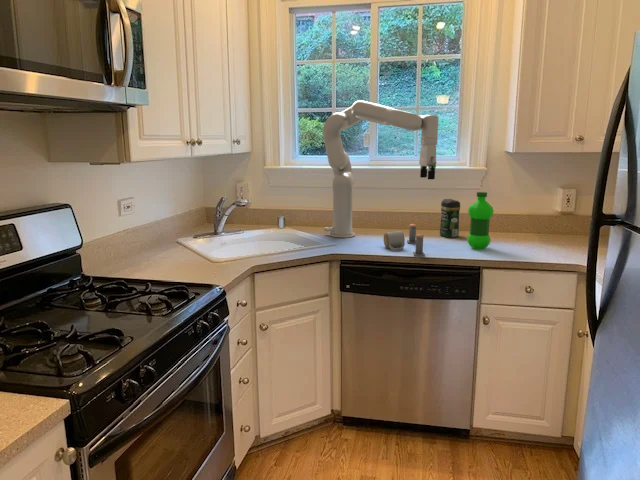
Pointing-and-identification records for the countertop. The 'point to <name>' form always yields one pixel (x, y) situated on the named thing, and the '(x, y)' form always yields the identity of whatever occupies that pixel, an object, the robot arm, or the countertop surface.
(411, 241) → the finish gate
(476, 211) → the plastic bottle
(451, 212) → the coffee jar
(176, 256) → the countertop surface
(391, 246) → the ceramic mug
